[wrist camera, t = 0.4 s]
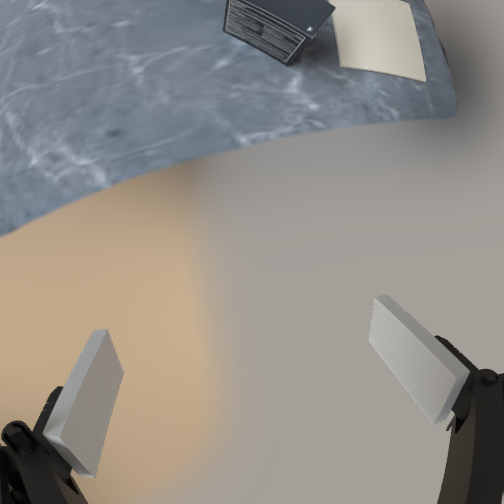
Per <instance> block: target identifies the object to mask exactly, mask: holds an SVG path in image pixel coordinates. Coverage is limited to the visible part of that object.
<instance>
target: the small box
mask: <svg viewBox="0 0 504 504" xmlns="http://www.w3.org/2000/svg"><path fill="white" fill-rule="evenodd" d="M335 9H336V7H335V6H333V5H332V4H330V3H329V2H327V1H325V0H227V2H226V9H225V17H224V26H223V31H224V32H226V33H228V34H230V35H232V36H234V37H236V38H238V39H240V40H242V41H244V42H246V43H247V44H249V45H251V46H253V47H255V48H257V49H259V50H260V51H262V52H264V53H266V54H267V55H269V56H271V57H273V58H274V59H276V60H278V61H280V62H281V63H283V64H285V65H286V66H291V64H292V62H293V61H294V60H295V58H296V57H297V56H298V55H299V54H300V53H301V51H302V50H303V49H304V48H305V47H306V46H307V45H308V43H309V42H310V41H311V40H312V39H313V38H314V37H315V35H316V34H317V33H318V31H319V30H320V29H321V27H322V26H323V25H324V23H325V22H326V21H327V19H328V18H329V17H330V16H331V14H332V13H333V12H334V11H335Z"/></svg>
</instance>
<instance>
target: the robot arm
mask: <svg viewBox="0 0 504 504" xmlns="http://www.w3.org/2000/svg"><path fill="white" fill-rule="evenodd" d="M368 342H369V343H370V344H371V345H372V346H373V348H374V349H375V350H376V352H377V353H378V354H379V355H380V357H381V358H382V359H383V361H384V362H385V363H386V364H387V366H388V367H389V368H390V370H391V371H392V372H393V374H394V375H395V376H396V377H397V379H398V380H399V381H400V383H401V384H402V385H403V387H404V388H405V389H406V390H407V392H408V393H409V395H410V396H411V397H412V399H413V400H414V401H415V402H416V404H417V405H418V406H419V408H420V409H421V411H422V412H423V413H424V415H425V416H426V417H427V419H428V420H429V421H430V423H431V424H432V425H433V426H434V425H436V424H438V423H439V422H441V421H443V420H445V419H446V418H447V416H448V415H449V413H450V411H451V410H452V411H453V412H454V413H455V415H454V417H453V418H452V420H451V422H450V424H449V425H448V427H447V429H446V431H448V430H449V429H450V427H451V426H452V429H451V437H450V445H449V451H448V457H447V463H446V468H445V474H444V478H443V482H442V486H441V491H440V495H439V498H438V502H437V504H501V501H502V494H503V493H504V373H503V374H497V373H496V372H494V371H493V370H490V369H482V370H479V369H478V368H476V367H475V366H474V365H473V364H472V363H471V362H470V361H469V360H468V359H467V358H466V357H465V356H464V355H463V354H462V353H459V351H458V350H457V349H456V348H454V346H453V345H452V344H451V343H450V342H449V341H448V340H446V339H444V338H442V337H440V336H438V335H437V336H433V335H432V334H431V333H430V332H428V331H427V330H426V329H425V328H424V327H423V326H422V325H421V324H420V323H419V322H418V321H416V320H415V319H414V318H413V317H412V316H411V315H410V314H409V313H407V312H406V311H405V310H404V309H403V308H402V307H401V306H400V305H398V304H397V303H396V302H395V301H394V300H393V299H392V298H390V297H389V296H388V295H383V296H378V297H375V299H374V308H373V314H372V321H371V328H370V334H369V340H368ZM123 374H124V371H123V369H122V367H121V364H120V362H119V359H118V356H117V354H116V352H115V349H114V346H113V343H112V340H111V338H110V335H109V332H108V330H107V329H106V330H94V331H93V333H92V335H91V336H90V338H89V340H88V342H87V344H86V345H85V347H84V349H83V351H82V353H81V355H80V356H79V359H78V360H77V362H76V364H75V366H74V368H73V370H72V372H71V374H70V376H69V377H68V380H67V381H66V384H65V385H64V387H60V386H58V387H57V388H56V389H55V390H54V391H53V392H52V393H51V394H50V396H49V398H48V400H47V402H46V404H45V406H44V408H43V411H42V412H41V414H40V416H39V418H38V420H37V422H36V425H35V427H34V429H33V431H31V430H30V428H28V426H27V425H26V423H24V422H22V421H13V422H10V423H9V424H7V425H6V426H5V428H4V429H3V431H2V434H1V439H2V440H3V441H4V442H5V444H6V445H7V446H1V444H0V504H88V502H87V501H86V499H85V497H84V496H83V494H82V492H81V491H80V489H79V487H78V485H77V484H76V482H75V480H74V478H73V477H72V476H71V475H70V473H71V470H72V469H73V470H74V471H75V472H76V473H77V474H78V475H80V476H86V477H91V478H96V474H97V469H98V465H99V461H100V456H101V452H102V448H103V444H104V440H105V436H106V432H107V429H108V425H109V421H110V418H111V414H112V411H113V407H114V404H115V400H116V397H117V394H118V390H119V387H120V384H121V380H122V378H123Z"/></svg>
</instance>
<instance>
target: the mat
mask: <svg viewBox="0 0 504 504" xmlns="http://www.w3.org/2000/svg"><path fill="white" fill-rule="evenodd" d="M328 1H329V3H330V4H332V5H333V6H335V7H336V9H335V11H334V12H333V13H332V14H331V16H332V21H333V26H334V32H335V38H336V44H337V50H338V57H339V64H340V67H344V68H352V69H360V70H366V71H373V72H379V73H384V74H389V75H395V76H399V77H404V78H409V79H413V80H417V81H421V82H427V81H426V75H425V69H424V63H423V58H422V53H421V48H420V44H419V39H418V35H417V31H416V27H415V23H414V19H413V15H412V12H411V8H410V5H409V3H406V2H403V1H400V0H328Z"/></svg>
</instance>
